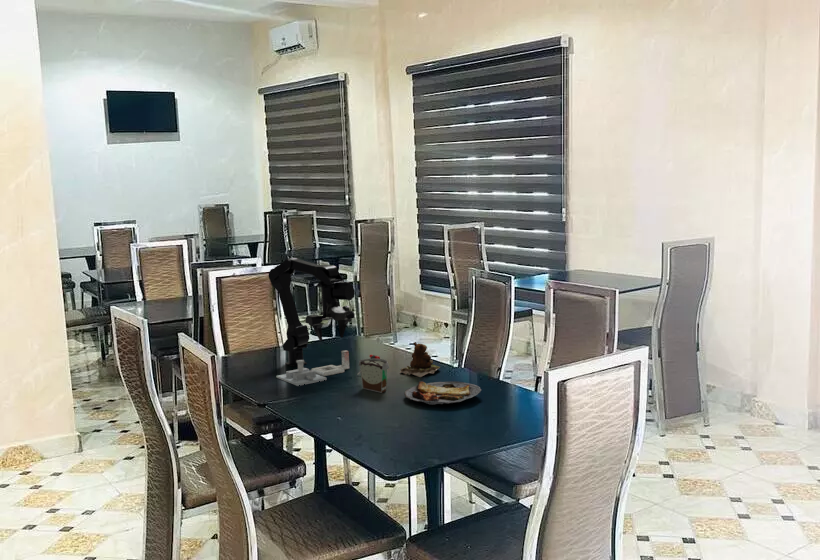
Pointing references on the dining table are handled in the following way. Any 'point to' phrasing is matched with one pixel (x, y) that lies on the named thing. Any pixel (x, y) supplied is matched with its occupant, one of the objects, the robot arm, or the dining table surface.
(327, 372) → the square frame with handle
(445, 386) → the food plate
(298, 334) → the robot arm
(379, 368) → the food container
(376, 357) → the tow hook
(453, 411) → the dining table surface
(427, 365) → the bear figurine
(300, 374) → the plate with round-ended peg
